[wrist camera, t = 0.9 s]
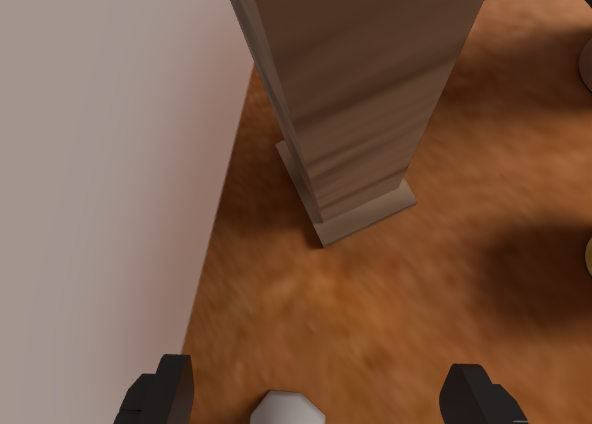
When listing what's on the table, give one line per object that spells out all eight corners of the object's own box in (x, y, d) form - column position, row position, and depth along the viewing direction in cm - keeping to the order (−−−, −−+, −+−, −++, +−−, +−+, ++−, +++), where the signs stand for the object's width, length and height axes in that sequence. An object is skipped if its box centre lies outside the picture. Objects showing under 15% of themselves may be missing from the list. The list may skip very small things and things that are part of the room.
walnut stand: (415, 205, 35) (892, -459, 4) (324, 248, 35) (170, -96, 5) (360, 110, 38) (412, -650, 8) (277, 149, 39) (6, -433, 8)
